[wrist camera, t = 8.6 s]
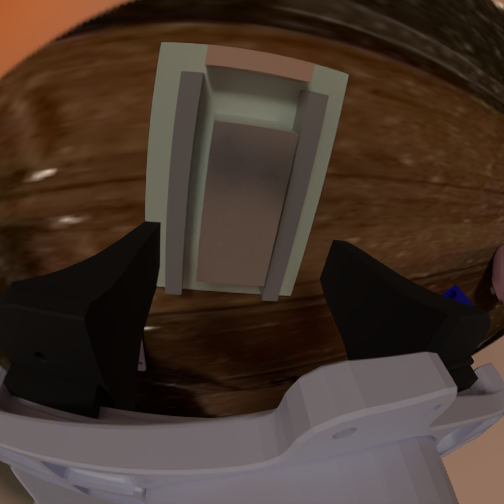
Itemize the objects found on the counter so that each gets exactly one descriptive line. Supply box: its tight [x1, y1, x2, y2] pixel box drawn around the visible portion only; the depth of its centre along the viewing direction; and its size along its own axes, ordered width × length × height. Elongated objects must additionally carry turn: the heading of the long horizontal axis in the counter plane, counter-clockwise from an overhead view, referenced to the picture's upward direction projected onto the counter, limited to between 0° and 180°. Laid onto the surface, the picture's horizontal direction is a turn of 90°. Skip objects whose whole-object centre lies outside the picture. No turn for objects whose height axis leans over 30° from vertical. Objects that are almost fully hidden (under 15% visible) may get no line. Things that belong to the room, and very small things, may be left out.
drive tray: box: [145, 42, 349, 301], centre depth 19 cm, size 18×12×3 cm, turn 170°
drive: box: [196, 113, 298, 287], centre depth 17 cm, size 9×4×5 cm, turn 170°
